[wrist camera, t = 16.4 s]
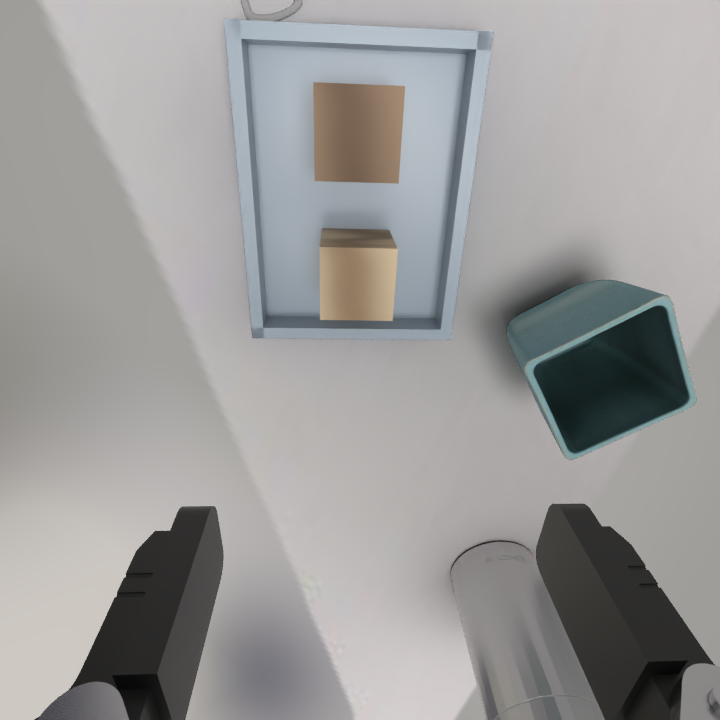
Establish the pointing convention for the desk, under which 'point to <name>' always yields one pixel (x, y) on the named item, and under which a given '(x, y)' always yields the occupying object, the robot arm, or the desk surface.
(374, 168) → the walnut block
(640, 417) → the flower pot
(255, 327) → the tray
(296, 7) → the key chain
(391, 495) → the desk surface
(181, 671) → the robot arm
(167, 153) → the desk surface
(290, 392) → the desk surface
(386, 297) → the oak block
